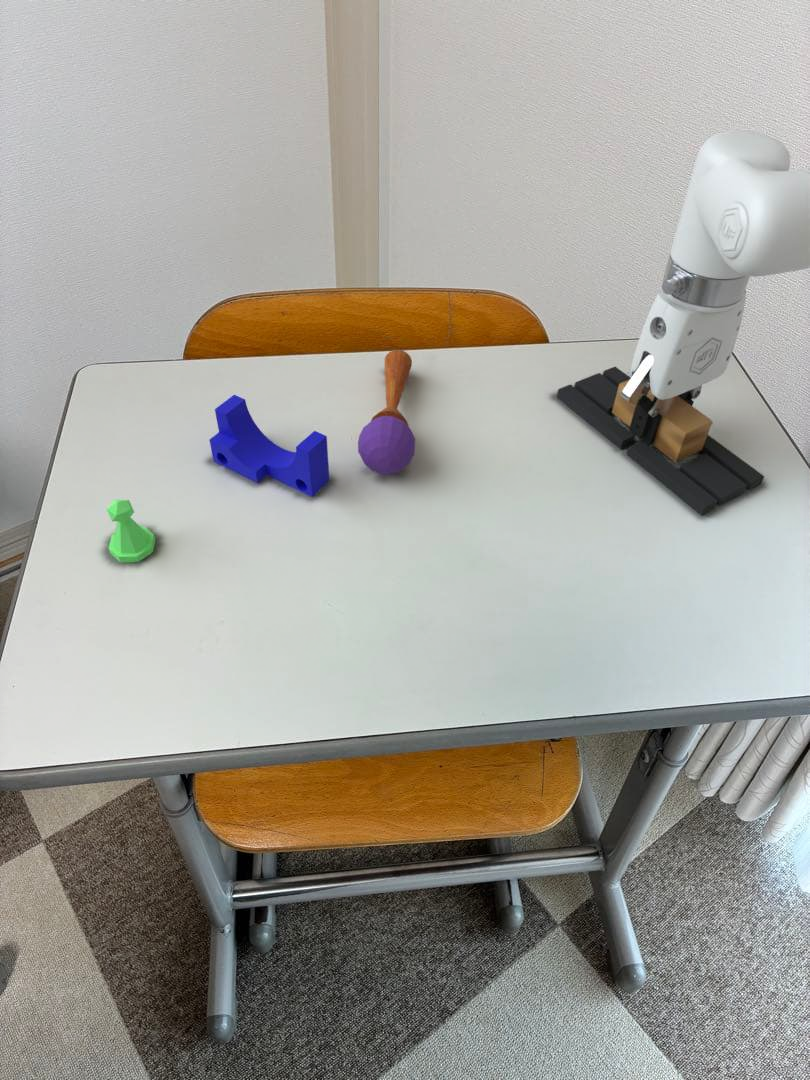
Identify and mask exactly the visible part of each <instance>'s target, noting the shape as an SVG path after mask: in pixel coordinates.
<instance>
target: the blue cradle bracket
mask: <svg viewBox="0 0 810 1080" xmlns="http://www.w3.org/2000/svg"><path fill="white" fill-rule="evenodd" d="M214 413H215V418H216V422H217V423H216V424H217V429H218V432H217V433H216V434H215V435H213V436H212V437H211V438H210V439H209V440H208V441H209V445H210V450H211V455H212V460H213V462H214V463H216V464H218V465H220V466H222V467H224V468H225V469H228V470H230V471H232V472H234V473H236V474H238V475H240V476H242V477H243V478H246V479H248V480H250V481H252V482H254V483H256V484H258V483H259V482H260V481H261V480H263V479H264V478H265V477H266V476H267V477H270V478H272V479H274V480H276V481H279V482H280V483H281V484H285V486H286V485H287V486H288V487H290V488H292V489H294V490H296V491H299V492H301V493H303V494H304V495H306V496H309V497H311V498H313V497H314V496H315V495H316V494H317V493H318V492H319V491H321V490H322V488H323V487H324V486H326V485H327V484H328V483H329V482H330V469H329V451H328V450H329V449H328V436H327V435H325V434H323V433H321V432H319V431H316V430H314V431H312V432H311V433H310V434H308V435H307V437H305V438H304V439H303V440H302V441H301V442H299V444H297V445H296V446H295V451H291V450H288V449H285V448H283V447H281V446H280V445H278V444H276V443H275V442H273V441H272V440H271V439H269V437H267V436H266V434H264V432H263V431H262V430H261V429H260V428H259V427H258V425H257V424H256V422H255V421H254V419H253V417H252V415H251V413H250V411H249V408H248V405H247V401H246V399H245V398H243V397H241V396H238V395H236V394H233V395H231V396H230V397H228V398H227V399H226V400H225V401H223V402H222V403H221V404H219V405H218V406H217V407H215V408H214Z"/></svg>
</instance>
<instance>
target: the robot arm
mask: <svg viewBox="0 0 810 1080" xmlns="http://www.w3.org/2000/svg"><path fill="white" fill-rule="evenodd" d="M790 165H791V155H790V152H789V150H788V148H787V147H786V145H784V143H783V142H781V141H780V140H778V139H776V138H774V137H771V136H769V135H767V134H764V133H760V132H756V131H750V130H727V131H722V132H718V133H716V134H713V135H712V136H710V137H709V138H707V139H706V141H705V142H704V143H703V144H702V145H701V147H700V149H699V151H698V153H697V156H696V159H695V163H694V166H693V169H692V174H691V177H690V181H689V184H688V188H687V191H686V194H685V198H684V202H683V206H682V209H681V212H680V216H679V220H678V223H677V227H676V230H675V234H674V237H673V241H672V245H671V248H670V253H669V256H668V259H667V262H666V267H665V270H664V274H663V277H662V281H661V285H660V291H658V293H657V295H656V297H655V299H654V301H653V303H652V305H651V308H650V310H649V312H648V314H647V317H646V320H645V322H644V325H643V328H642V330H641V333H640V336H639V339H638V342H637V345H636V348H635V352H634V355H633V358H632V362H631V367H630V378H631V379H630V380H629V382H628V383H627V385H626V386H625V387H624V389H623V390H622V392H621V396H622V397H623V398H624V399H626V400H627V401H628V402H630V403H632V404H635V405H636V407H635V411H634V414H633V418H632V421H631V425H630V426H629V431H630V432H631V433H633V434H634V435H635V437H637V438H638V439H639V440H640V441H643V442H644V443H645V444H647V445H648V446H650V445H653V444H652V443H653V442H654V439H655V436H656V433H657V430H658V427H659V424H660V421H661V417H662V415H661V414H659V412H660V409H661V407H662V405H663V403H664V401H665V399H669V398H672V397H675V396H679V397H680V398H681V399H683V400H684V401H686V402H687V403H688V404H690V405H691V406H693V405H694V403H695V401H694V400H696V399H697V398H698V397H699V396H700V394H701V392H702V388H703V385H706V384H707V383H710V382H712V381H714V380H716V379H718V378H720V377H721V376H722V375H724V373H725V372H726V370H727V368H728V365H729V362H730V360H731V357H732V354H733V351H734V349H735V345H736V341H737V338H738V335H739V332H740V328H741V324H742V321H743V316H744V311H745V306H746V298H747V286H748V284H749V281H750V277H766V276H772V275H779V274H785V273H791V272H798V271H801V270H806V269H810V168H808V169H807V168H806V169H801V170H790V167H791V166H790ZM649 389H650V390H651V393H652V394H653V395H654V396H655V397H654V399H653V402H652V400H651V399H650V398H649V397H647V394H648V392H649ZM693 407H694V406H693Z"/></svg>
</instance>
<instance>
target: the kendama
mask: <svg viewBox="0 0 810 1080" xmlns="http://www.w3.org/2000/svg"><path fill="white" fill-rule="evenodd" d="M383 362H384V364H383V365H384V377H385V378H384V379H385V380H384V382H385V401H386V402H385V403H386V407H385V408H383V409H382V410H381V411H379V412H377V413H376V414H375V415H374V416H372V417H371V420H370V422H368V423H367V424H366V425H365V426H363V427H362V429H361V432H360V434H359V436H358V441H357V448H358V449H357V453H358V454H359V456H360V458H361V460H362V462H363V464H364V466H366V468H368V469H369V470H370V471H371V472H374V473H376V474H380V475H393V474H397V473H399V472H401V471H402V470H404V469H405V468H406V467H407V466H408V465H409V464H411V461H412V460H413V458H414V457H415V452H416V451H415V450H416V438H415V435H414V432H413V431H412V429H411V427H410V426H409V422H408V420H407V419H406V417H404V415H403V414H402V413H401V411H399V409H398V408H399V404H400V401H401V399H402V397H403V396H402V395H403V392H404V390H405V386H406V383H407V380H408V377H409V374H410V372H411V370H412V364H413V360H412V357H411V356H410V355H409V353H407V352H406V351H404V350H402V349H393V350H391V351H389V352H388V353H386V355H385V357H384V361H383Z"/></svg>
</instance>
